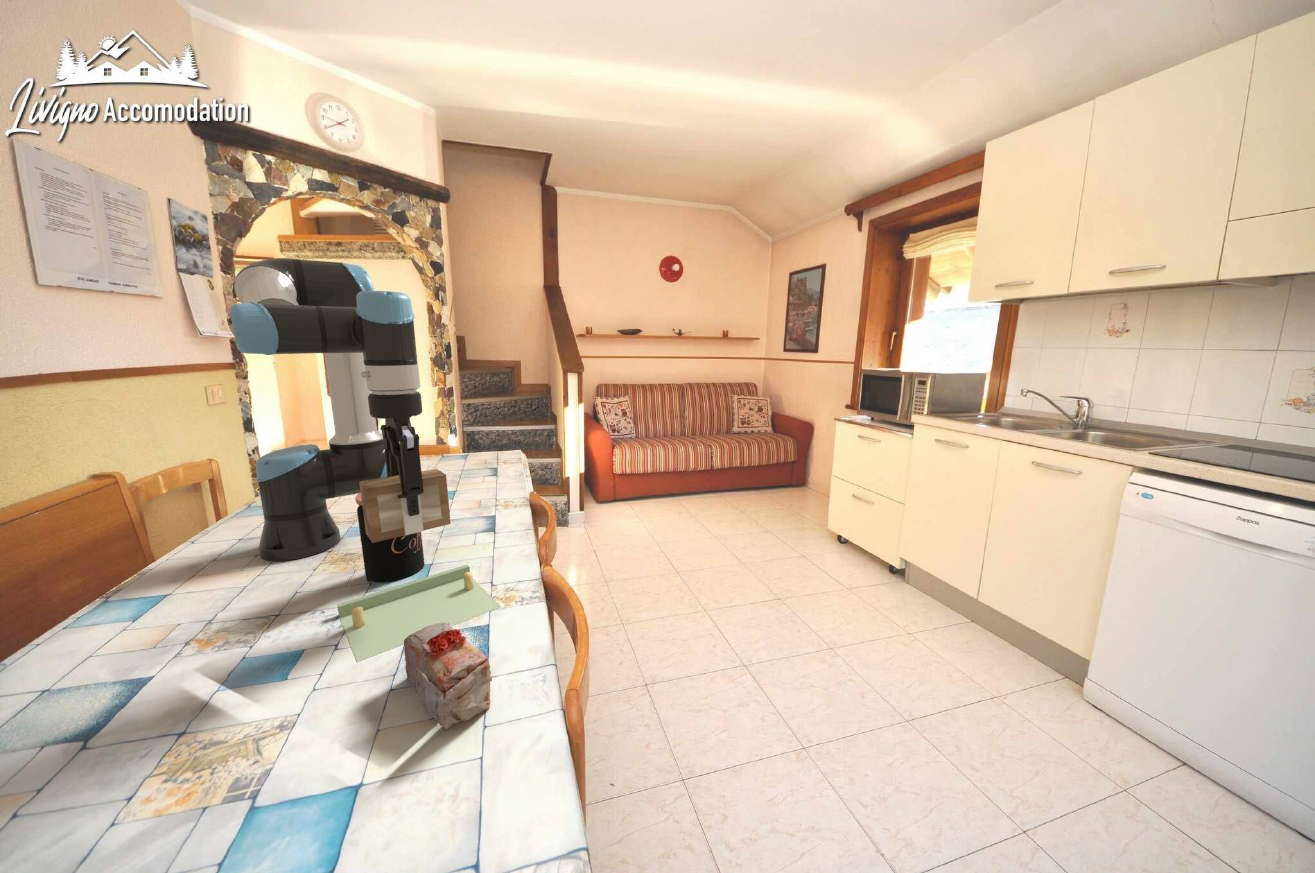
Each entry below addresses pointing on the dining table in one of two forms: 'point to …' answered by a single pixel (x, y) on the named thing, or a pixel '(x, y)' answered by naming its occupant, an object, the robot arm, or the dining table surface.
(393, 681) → the dining table surface
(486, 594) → the ledge board
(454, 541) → the dining table surface
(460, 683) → the food item
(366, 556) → the coffee jar
